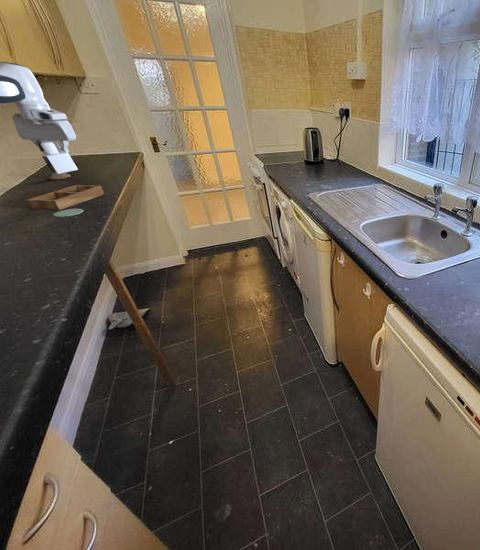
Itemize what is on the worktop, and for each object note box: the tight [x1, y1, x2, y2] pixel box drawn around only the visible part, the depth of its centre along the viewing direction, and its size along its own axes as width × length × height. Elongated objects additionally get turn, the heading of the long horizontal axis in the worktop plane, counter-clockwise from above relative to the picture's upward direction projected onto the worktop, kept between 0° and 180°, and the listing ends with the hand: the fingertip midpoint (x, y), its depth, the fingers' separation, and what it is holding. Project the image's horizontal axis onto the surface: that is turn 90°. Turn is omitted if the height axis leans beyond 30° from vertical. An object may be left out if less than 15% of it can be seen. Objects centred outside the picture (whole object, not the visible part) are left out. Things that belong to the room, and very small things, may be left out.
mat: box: [52, 208, 84, 218], centre depth 117 cm, size 9×9×1 cm
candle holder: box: [30, 140, 72, 180], centre depth 158 cm, size 9×9×20 cm
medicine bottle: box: [38, 140, 79, 174], centre depth 122 cm, size 7×7×12 cm
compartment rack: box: [25, 184, 105, 211], centre depth 128 cm, size 12×23×4 cm, turn 178°
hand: (55, 152), depth 122 cm, fingers closed on medicine bottle, 7 cm apart
